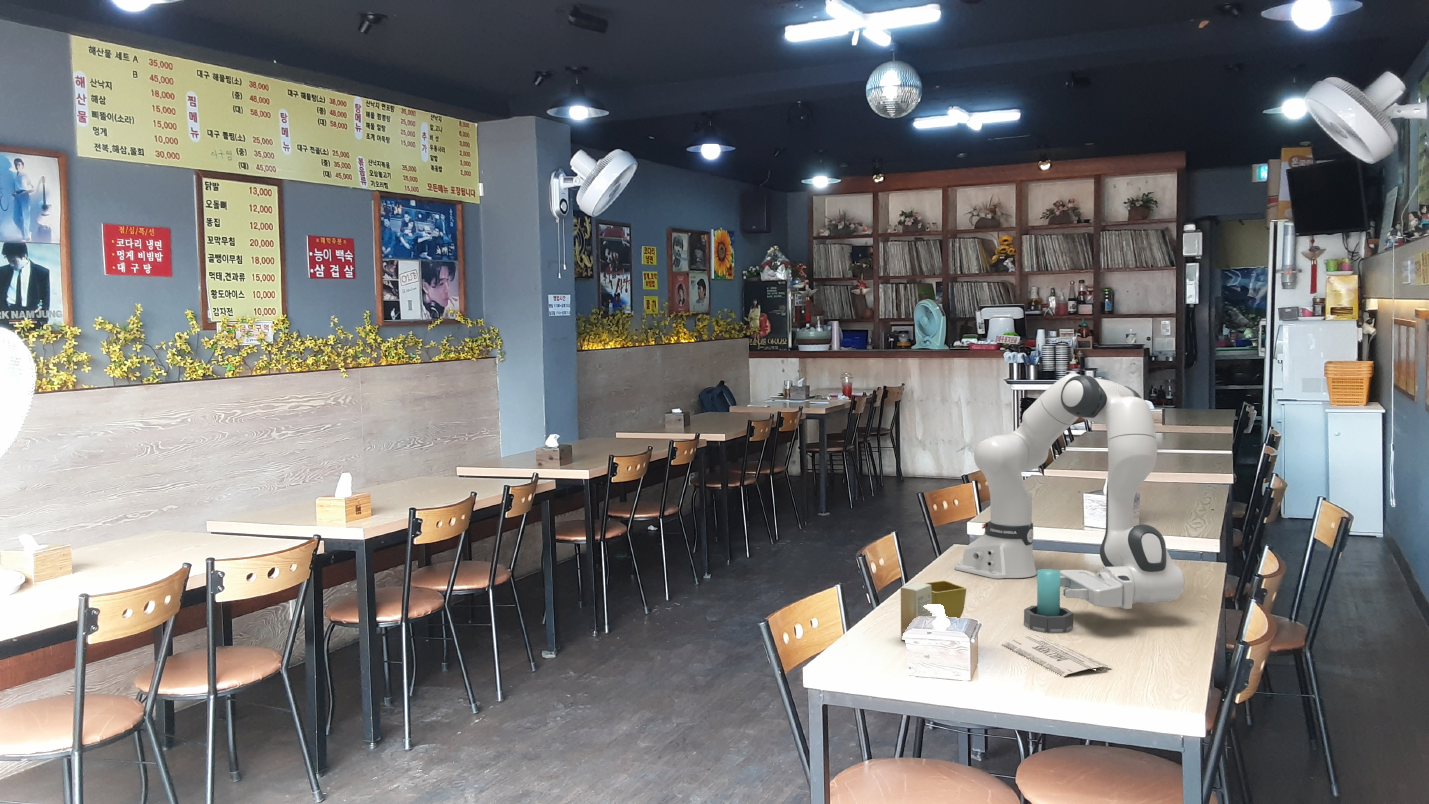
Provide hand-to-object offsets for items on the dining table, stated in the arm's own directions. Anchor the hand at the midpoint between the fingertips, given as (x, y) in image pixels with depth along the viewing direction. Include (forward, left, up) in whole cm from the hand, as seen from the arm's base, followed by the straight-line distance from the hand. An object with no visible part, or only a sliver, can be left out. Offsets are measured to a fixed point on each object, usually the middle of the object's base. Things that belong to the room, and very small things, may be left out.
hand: (1055, 588), depth 239 cm
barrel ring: (-1, -1, -9) cm, 9 cm away
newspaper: (+9, -21, -10) cm, 25 cm away
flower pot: (-21, -15, -9) cm, 28 cm away
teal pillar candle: (-1, -1, -8) cm, 8 cm away
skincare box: (-19, -29, -9) cm, 36 cm away
